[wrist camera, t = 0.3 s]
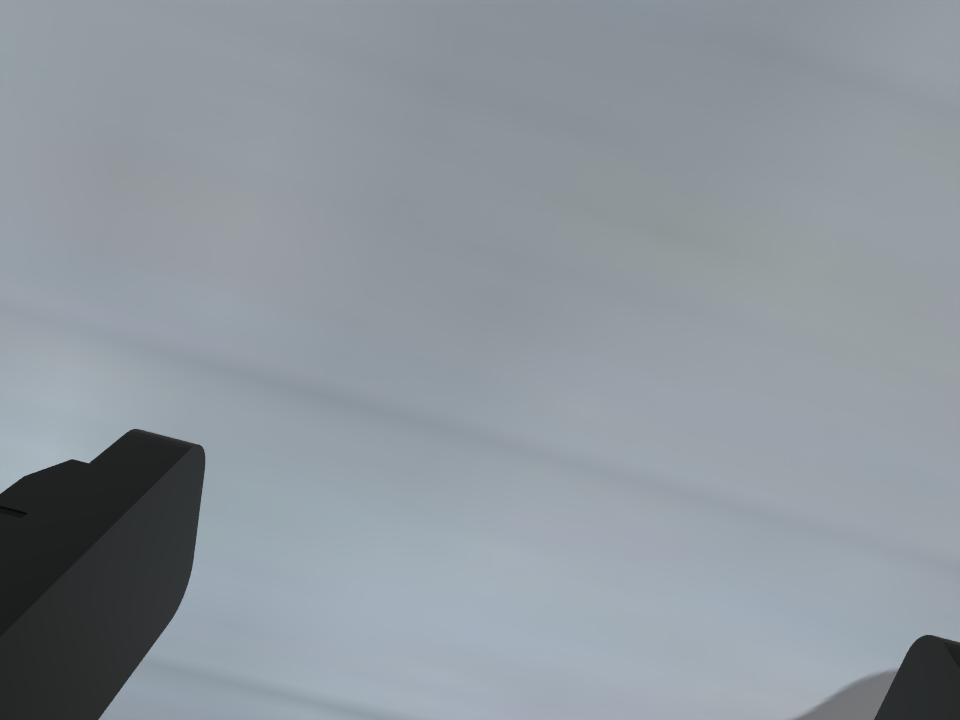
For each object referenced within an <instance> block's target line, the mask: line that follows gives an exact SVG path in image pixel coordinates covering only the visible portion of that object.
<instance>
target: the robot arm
mask: <svg viewBox="0 0 960 720" xmlns="http://www.w3.org/2000/svg"><path fill="white" fill-rule="evenodd" d="M204 471H205V452H204V449H203V447H202V446H200V445H198V444H194V443H190V442H186V441H182V440H178V439H174V438H170V437H167V436H163V435H159V434H155V433H151V432H147V431H143V430H139V429H133V430H130V431H129V432H127V433H126V434H125V435H123V436H122V437H121V438H120V439H118V440H117V441H116V442H115V443H113V444H112V445H111V446H110V447H109V448H107V449H106V450H105V451H104V452H102V453H101V454H100V455H99V456H97V457H96V458H95V459H94V460H93V461H91V462H90V463H85V462H81V461H77V460H73V459H71V460H69V461H66V462H63V463H60V464H57V465H55V466H52V467H49V468H46V469H43V470H41V471H38V472H35V473H32V474H29V475H27V476H24V477H23V478H21V479H20V480H19V481H17V482H16V483H15V484H13V485H12V486H10V487H9V488H8V489H6V490H5V491H4V492H2V493H1V494H0V720H98V719H99V718H100V717H101V715H102V714H103V712H104V711H105V710H106V708H107V707H108V706H109V704H110V703H111V702H112V700H113V699H114V697H115V696H116V695H117V693H118V692H119V691H120V689H121V688H122V687H123V685H124V684H125V682H126V681H127V680H128V678H129V677H130V676H131V674H132V673H133V672H134V670H135V669H136V668H137V666H138V665H139V663H140V662H141V661H142V659H143V658H144V657H145V655H146V654H147V653H148V651H149V650H150V648H151V647H152V646H153V644H154V643H155V642H156V640H157V639H158V638H159V636H160V635H161V633H162V632H163V631H164V629H165V628H166V627H167V625H168V624H169V623H170V621H171V620H172V618H173V616H174V615H175V613H176V611H177V609H178V607H179V605H180V603H181V601H182V598H183V596H184V593H185V591H186V588H187V585H188V582H189V578H190V575H191V570H192V565H193V559H194V551H195V543H196V535H197V527H198V519H199V511H200V503H201V495H202V487H203V479H204ZM874 720H960V642H956V641H952V640H948V639H944V638H940V637H937V636H933V635H925V636H922V637H920V638H919V639H917V640H916V641H915V642H914V643H913V645H912V646H911V647H910V649H909V651H908V652H907V654H906V656H905V658H904V660H903V662H902V664H901V666H900V668H899V670H898V672H897V674H896V676H895V679H894V680H893V682H892V684H891V687H890V689H889V691H888V693H887V695H886V697H885V699H884V701H883V703H882V705H881V707H880V709H879V711H878V713H877V715H876V717H875V719H874Z"/></svg>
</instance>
